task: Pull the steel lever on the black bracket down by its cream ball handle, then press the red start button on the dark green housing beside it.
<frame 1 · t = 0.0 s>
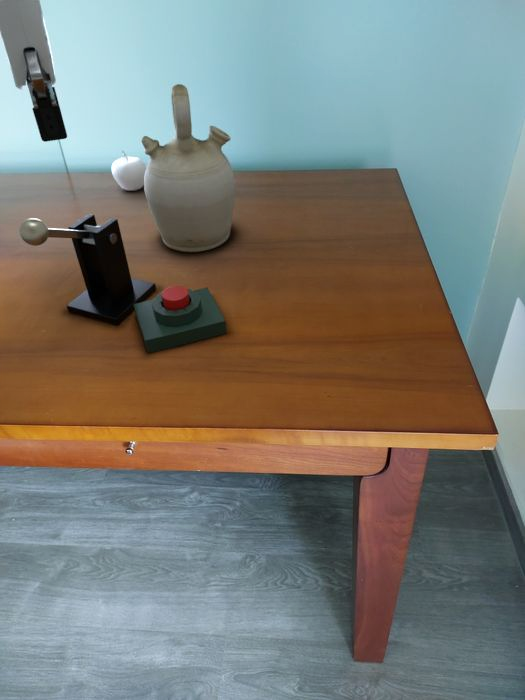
hand: (52, 128, 72), 23 cm above the table, tool pointing down, fingers open, 9 cm apart
plain white apple: (132, 188, 113), on the table
button: (175, 298, 72), point 4 cm above the table, slide at 0.1 cm
bracket: (113, 300, 80), on the table
lever: (66, 233, 68), point 14 cm above the table, hinge at 28.0°
jug: (196, 236, 95), on the table
button box: (180, 324, 75), on the table
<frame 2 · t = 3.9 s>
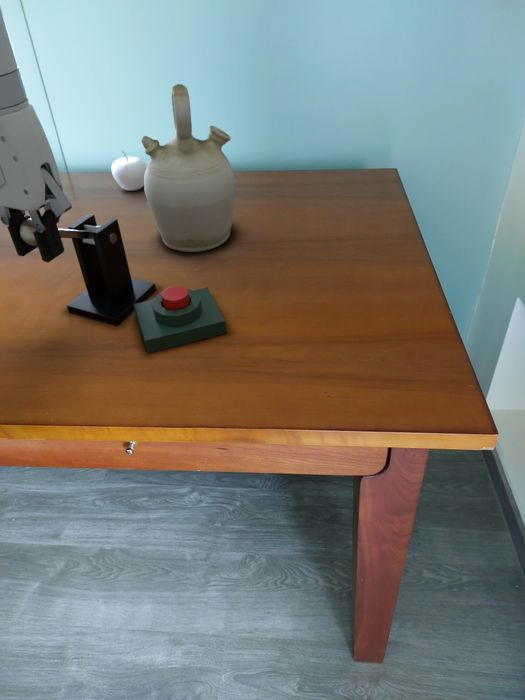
hand: (41, 252, 65), 13 cm above the table, tool pointing down, fingers closed on lever, 3 cm apart
lever: (66, 233, 68), point 14 cm above the table, hinge at 28.0°, touching gripper
everything else where it was.
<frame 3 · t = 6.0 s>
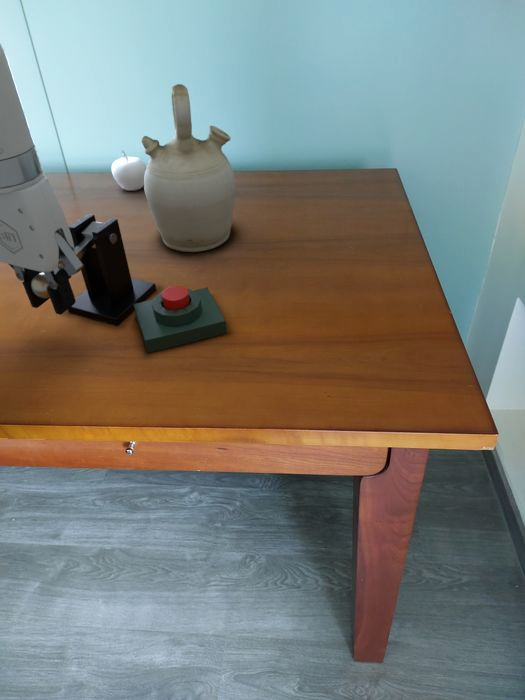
hand: (54, 304, 69), 6 cm above the table, tool pointing down, fingers closed on lever, 3 cm apart
lever: (71, 259, 70), point 10 cm above the table, hinge at -8.8°, touching gripper
everything else where it was.
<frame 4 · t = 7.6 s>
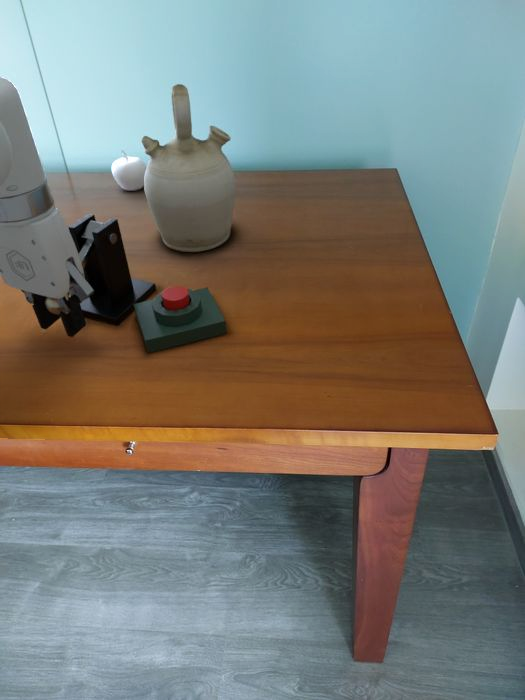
hand: (63, 325, 71), 2 cm above the table, tool pointing down, fingers open, 3 cm apart
lever: (77, 268, 71), point 8 cm above the table, hinge at -26.7°
everything else where it was.
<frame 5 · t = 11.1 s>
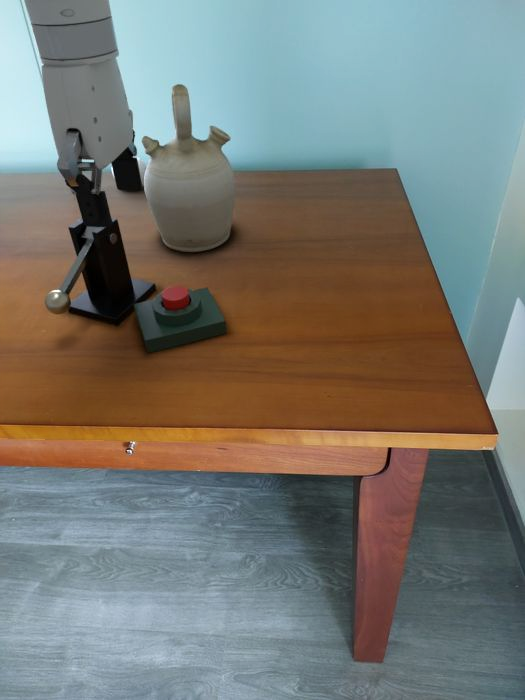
hand: (115, 206, 62), 18 cm above the table, tool pointing down, fingers open, 9 cm apart
nothing on the table moved.
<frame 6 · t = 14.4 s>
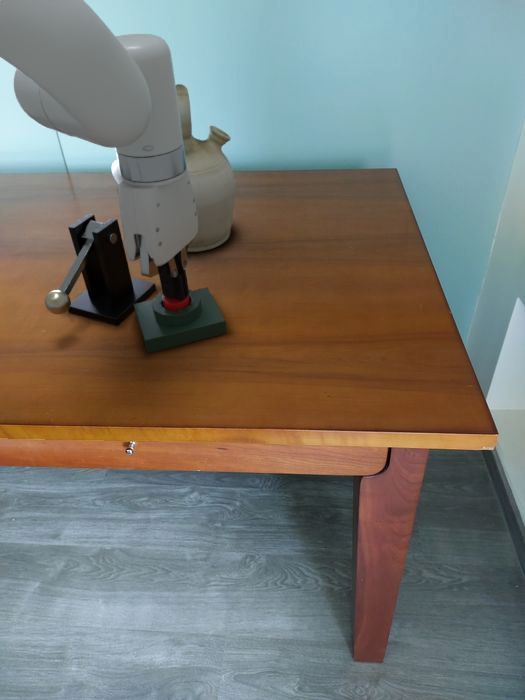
hand: (176, 295, 72), 5 cm above the table, tool pointing down, fingers closed
button: (176, 301, 72), point 4 cm above the table, slide at -0.4 cm, touching gripper
everything else where it was.
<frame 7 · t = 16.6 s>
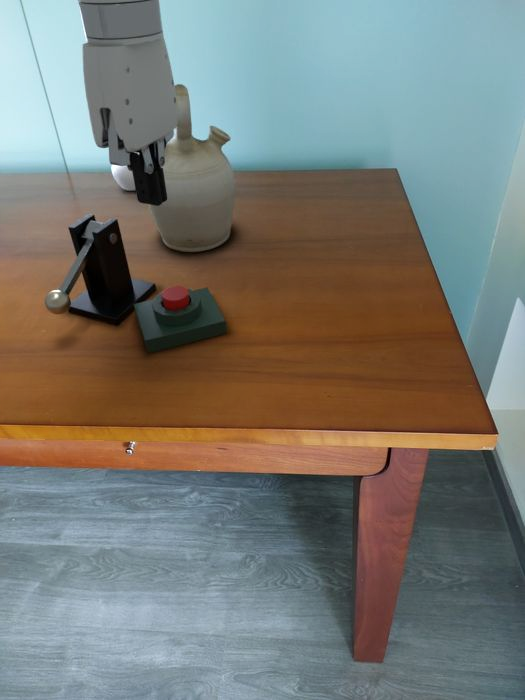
hand: (152, 201, 63), 18 cm above the table, tool pointing down, fingers closed
button: (175, 298, 72), point 4 cm above the table, slide at 0.1 cm
everything else where it was.
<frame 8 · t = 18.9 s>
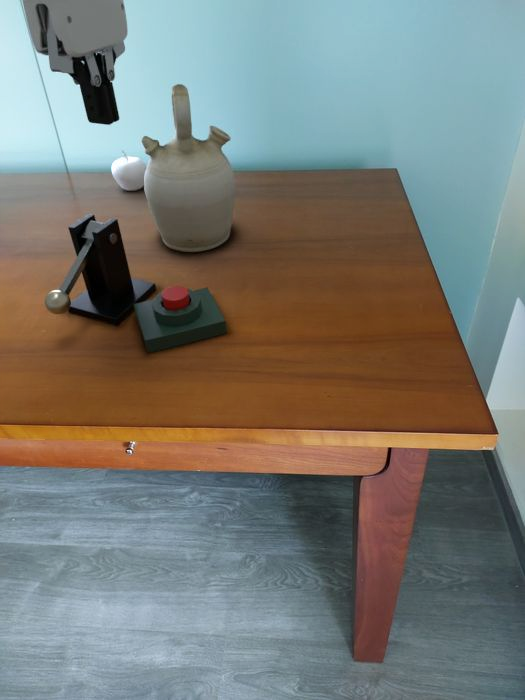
hand: (104, 121, 59), 27 cm above the table, tool pointing down, fingers closed
nothing on the table moved.
at the end: lever at -27° (first picture: +28°); button pushed in 1.1 cm at the most during the clip, back to where it started at the end; plain white apple moved 0.2 cm from its start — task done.
